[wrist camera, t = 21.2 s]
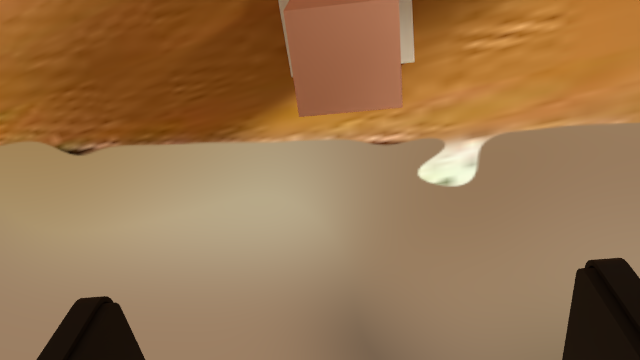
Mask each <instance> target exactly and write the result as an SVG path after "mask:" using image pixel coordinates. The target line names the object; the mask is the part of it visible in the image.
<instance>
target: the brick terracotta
mask: <svg viewBox="0 0 640 360" xmlns="http://www.w3.org/2000/svg"><path fill="white" fill-rule="evenodd" d="M283 12H284V18H285V25H286V32H287V39H288V45H289V52H290V59H291V65H292V72H293V79H294V85H295V92H296V99H297V105H298V112H299V117H304V116H314V115H325V114H336V113H347V112H358V111H369V110H380V109H390V108H401V107H403V105H402V76H401V47H400V18H399V0H289V2H288V4H287V5H286V7H285V9H284V11H283Z"/></svg>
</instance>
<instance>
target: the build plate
mask: <svg viewBox="0 0 640 360" xmlns="http://www.w3.org/2000/svg"><path fill="white" fill-rule="evenodd" d="M278 2H279V8H280V14H281V19H282V25H283V31H284V37H285V42H286V48H287V54H288V60H289V65H290V71H291V77H293V72H292V65H291V59H290V52H289V45H288V39H287V32H286V25H285V18H284V12H283V11H284V9H285V7H286V5H287V4H288V2H289V0H278ZM399 18H400V47H401V64H403V63H411V62H415V58H414V35H413V12H412V0H399Z"/></svg>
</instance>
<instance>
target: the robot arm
mask: <svg viewBox="0 0 640 360" xmlns="http://www.w3.org/2000/svg"><path fill="white" fill-rule="evenodd" d="M37 360H145V358H144V356H143V354H142V352H141V350H140V348H139V345H138V343H137V341H136V339H135V337H134V335H133V333H132V330H131V328H130V326H129V324H128V322H127V320H126V318H125V316H124V314H123V311H122V309H121V307H120V305H119V304H117V303H113V301H112V300H111V298H109V297H105V296H104V297H91V298H80V299H79V300H77V301H76V302H75V303H74V305H73V306H72V307H71V309H70V310H69V312H68V313H67V315H66V316H65V318H64V319H63V321H62V322H61V324H60V325H59V327H58V329H57V330H56V331H55V333H54V334H53V336H52V338H51V339H50V340H49V342H48V344H47V345H46V346H45V348H44V349H43V351H42V352H41V354H40V355H39V357H38V358H37ZM562 360H640V278H639V277H638V276H637V274H636V273H635V272H634V271H633V269H632V268H631V267H630V265H629V264H628V263H627V262H626V261H625V260H624V259H622V258H612V259H599V260H589V261H588V262H587V263H586V265H585V268H582V269H578V270H577V273H576V278H575V284H574V290H573V296H572V303H571V309H570V315H569V321H568V327H567V334H566V340H565V346H564V352H563V359H562Z"/></svg>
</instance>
